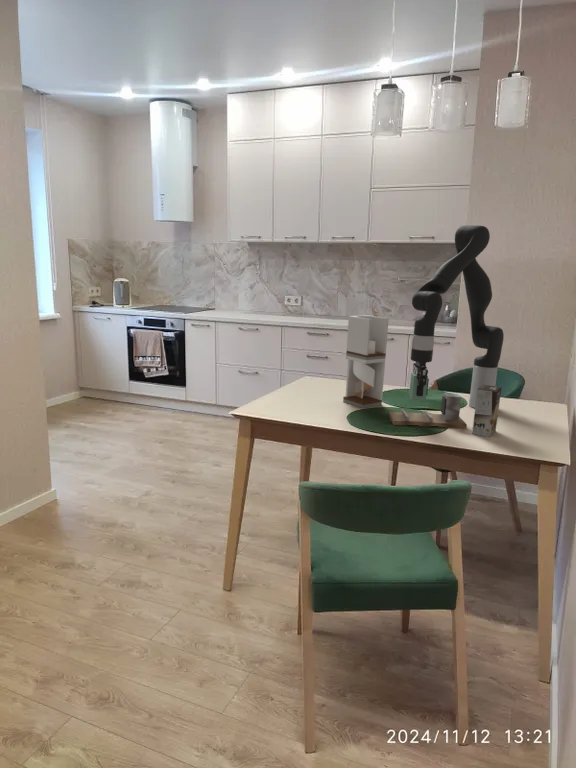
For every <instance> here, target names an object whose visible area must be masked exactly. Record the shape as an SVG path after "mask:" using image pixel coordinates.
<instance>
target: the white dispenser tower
mask: <svg viewBox="0 0 576 768" xmlns="http://www.w3.org/2000/svg"><path fill="white" fill-rule="evenodd" d="M389 321H390V319H389V318H388V317H381V316H376V315H348V325H347V337H346V338H347V339H346V341H347V342H346V355H345V359H346V360H347V369H346V371H347V372H346V384H345V385H346V387H345V396H343V398H342V399H343V401H342V402H344V403H345V404H350V405H352V406H356V407H359V408H360V409H361V408H362V409H365V408H371V407H377V406H382V405H383V403H382V402H383V391H384V379H385V378H384V377H385V370H386V369H385V368H386V357H387V354H386V353H387V344H388V331H389Z"/></svg>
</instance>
